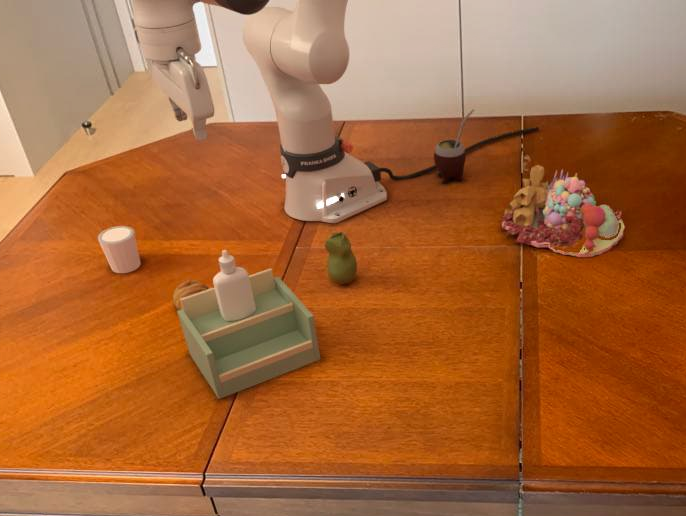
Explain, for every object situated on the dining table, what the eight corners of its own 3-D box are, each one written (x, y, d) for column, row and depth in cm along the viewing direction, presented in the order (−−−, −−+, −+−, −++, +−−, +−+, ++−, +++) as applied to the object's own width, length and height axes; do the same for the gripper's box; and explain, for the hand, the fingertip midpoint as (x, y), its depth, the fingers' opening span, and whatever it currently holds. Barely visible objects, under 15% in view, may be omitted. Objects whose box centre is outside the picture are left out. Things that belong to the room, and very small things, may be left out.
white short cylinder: (134, 276, 157) (123, 244, 152) (101, 273, 158) (90, 242, 153) (149, 257, 162) (140, 226, 157) (118, 255, 163) (108, 224, 158)
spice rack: (286, 319, 144) (276, 266, 137) (320, 359, 135) (312, 305, 128) (189, 354, 137) (173, 300, 130) (218, 399, 128) (203, 344, 121)
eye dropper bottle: (224, 307, 135) (208, 244, 127) (257, 305, 135) (244, 242, 127) (220, 323, 132) (204, 259, 124) (254, 321, 132) (240, 257, 124)
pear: (363, 278, 153) (358, 231, 146) (348, 292, 150) (342, 245, 143) (338, 271, 155) (332, 224, 148) (323, 285, 152) (316, 238, 145)
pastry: (223, 315, 146) (219, 297, 143) (187, 327, 143) (182, 310, 141) (206, 291, 152) (201, 273, 149) (171, 302, 149) (166, 285, 147)
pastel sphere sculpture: (486, 242, 161) (487, 200, 155) (521, 190, 177) (523, 149, 171) (611, 264, 153) (616, 220, 147) (635, 207, 169) (641, 165, 163)
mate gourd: (429, 181, 182) (426, 115, 172) (446, 167, 187) (445, 102, 177) (457, 188, 179) (456, 122, 169) (475, 174, 184) (475, 108, 174)
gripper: (213, 54, 116) (232, 145, 126) (169, 19, 130) (189, 105, 139) (171, 63, 114) (193, 156, 123) (130, 27, 127) (153, 113, 136)
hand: (191, 128), depth 131 cm, fingers open, 8 cm apart
